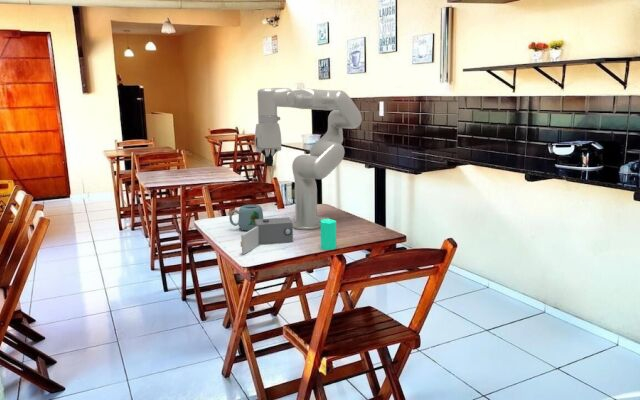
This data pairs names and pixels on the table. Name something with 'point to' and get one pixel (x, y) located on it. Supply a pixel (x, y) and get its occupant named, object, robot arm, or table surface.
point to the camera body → (275, 230)
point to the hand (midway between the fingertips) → (269, 165)
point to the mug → (247, 216)
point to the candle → (328, 234)
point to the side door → (250, 239)
